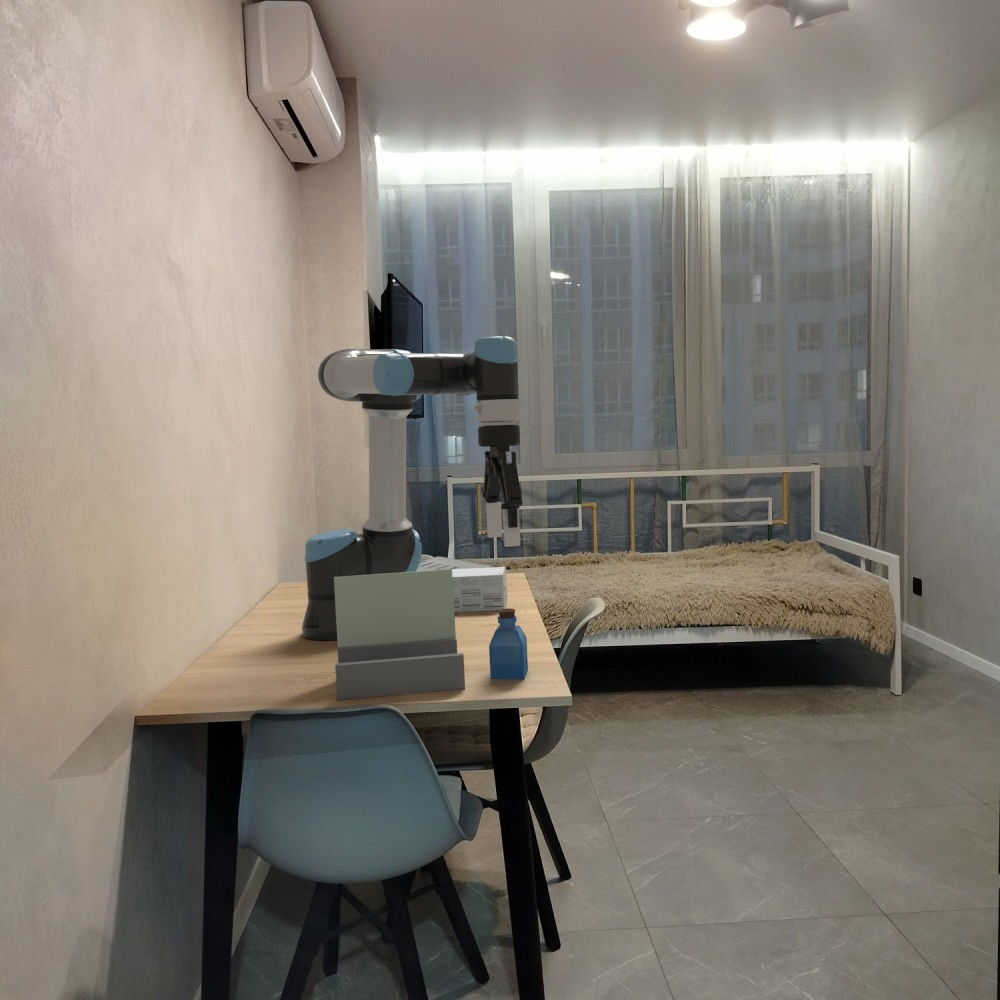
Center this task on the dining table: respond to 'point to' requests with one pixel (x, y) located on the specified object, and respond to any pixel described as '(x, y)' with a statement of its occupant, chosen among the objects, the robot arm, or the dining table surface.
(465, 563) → the warehouse
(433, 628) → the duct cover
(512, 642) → the perfume bottle
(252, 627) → the dining table surface
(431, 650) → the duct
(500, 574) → the supplement box
